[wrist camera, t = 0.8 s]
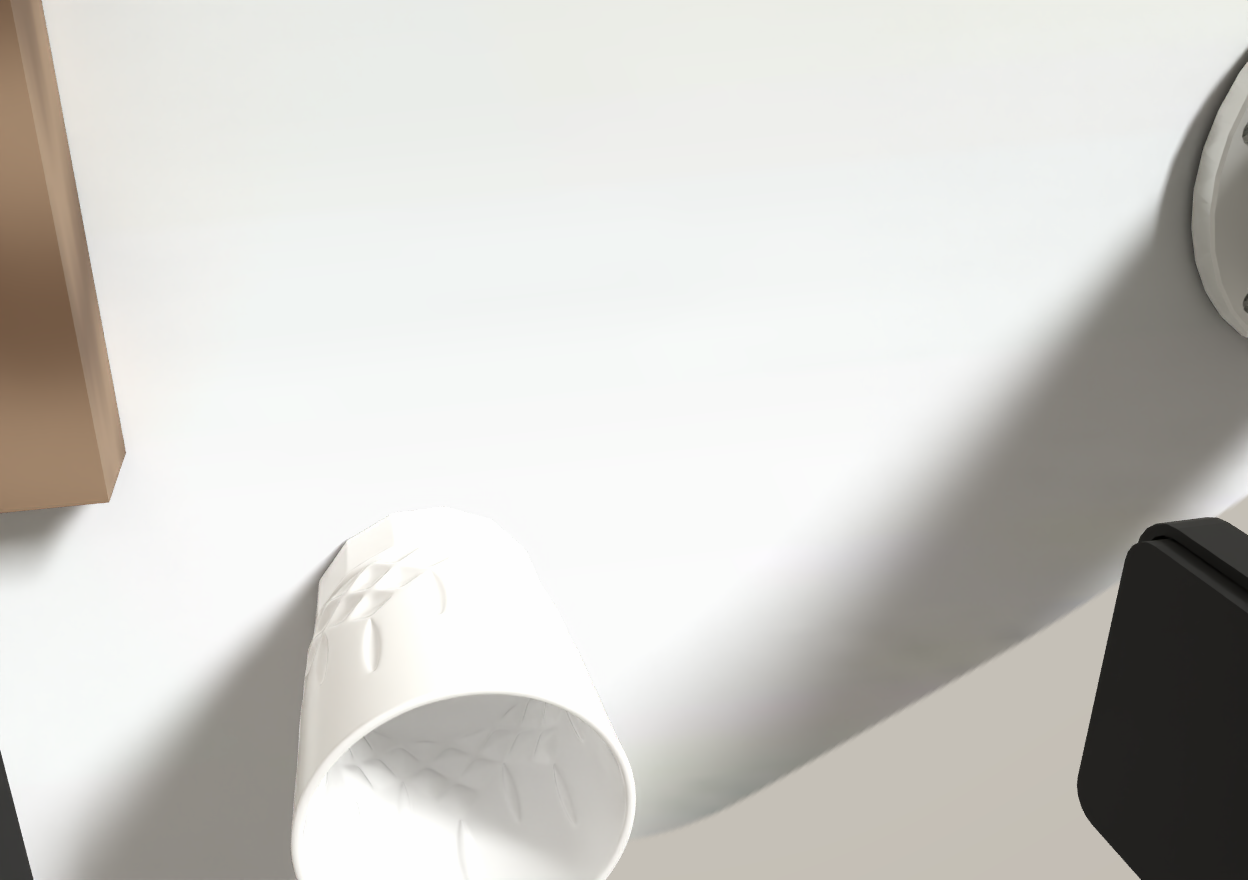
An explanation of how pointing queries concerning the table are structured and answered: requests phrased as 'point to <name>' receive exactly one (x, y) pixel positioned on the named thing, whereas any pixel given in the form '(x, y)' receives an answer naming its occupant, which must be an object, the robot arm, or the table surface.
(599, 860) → the white cup
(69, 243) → the button board
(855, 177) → the table surface
